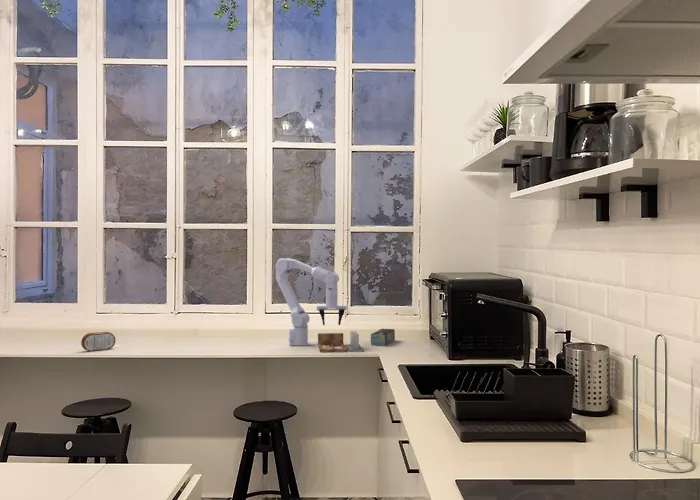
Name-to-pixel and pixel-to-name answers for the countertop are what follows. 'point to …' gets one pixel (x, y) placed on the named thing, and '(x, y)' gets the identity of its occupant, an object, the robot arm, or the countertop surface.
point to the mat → (352, 349)
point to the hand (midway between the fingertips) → (331, 325)
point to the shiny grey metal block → (354, 340)
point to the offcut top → (326, 346)
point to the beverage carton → (382, 337)
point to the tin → (98, 341)
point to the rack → (331, 342)
